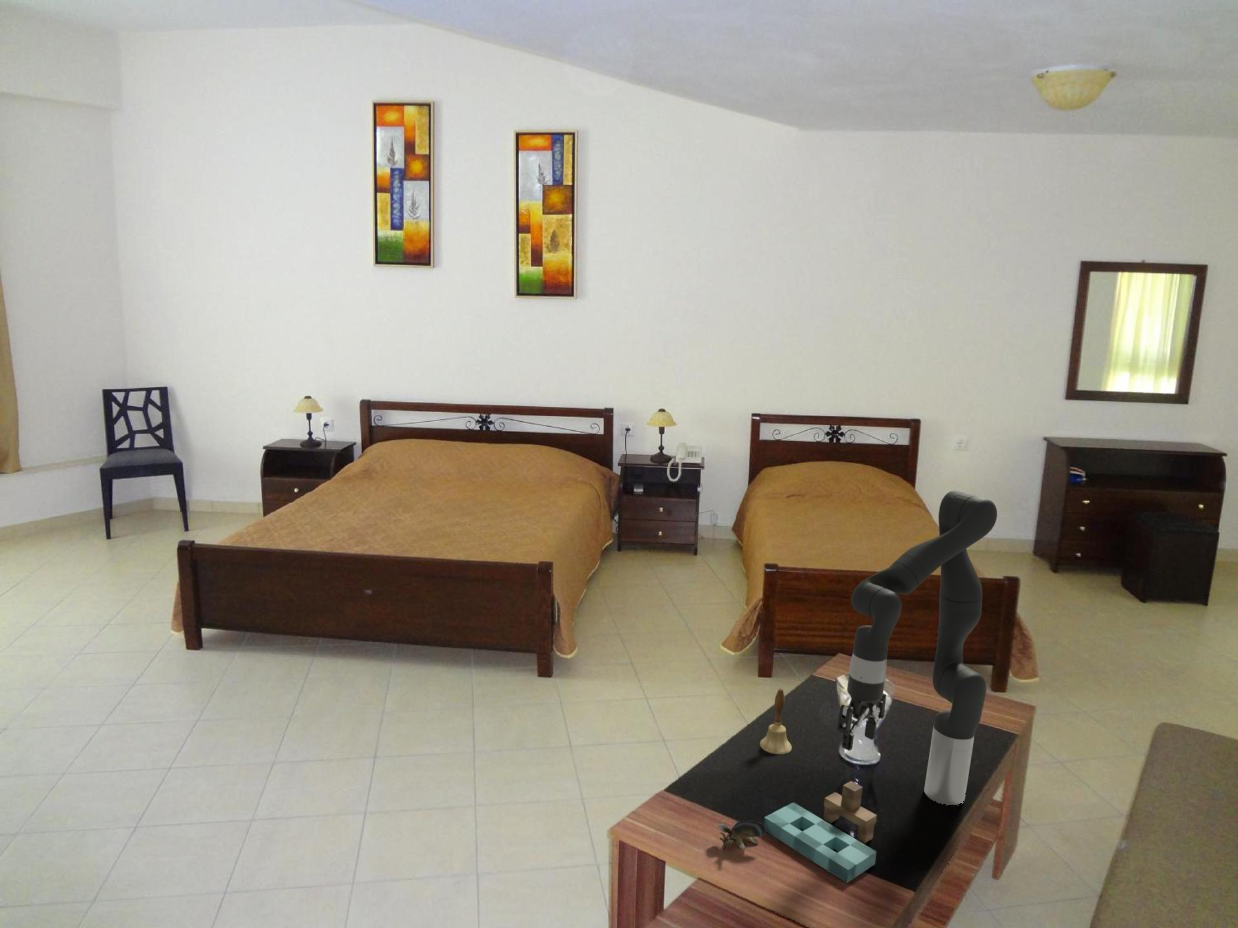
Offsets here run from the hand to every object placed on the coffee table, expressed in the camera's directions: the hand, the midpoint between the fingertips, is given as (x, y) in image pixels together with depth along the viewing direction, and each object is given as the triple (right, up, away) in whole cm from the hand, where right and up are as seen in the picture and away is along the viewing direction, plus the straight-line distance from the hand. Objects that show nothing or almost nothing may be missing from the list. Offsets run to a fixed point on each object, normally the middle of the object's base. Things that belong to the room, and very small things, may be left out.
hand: (858, 743), depth 194 cm
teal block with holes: (-10, -21, -3) cm, 24 cm away
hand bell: (-11, -13, +38) cm, 42 cm away
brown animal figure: (-27, -21, -4) cm, 34 cm away
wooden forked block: (-1, -20, +4) cm, 21 cm away
